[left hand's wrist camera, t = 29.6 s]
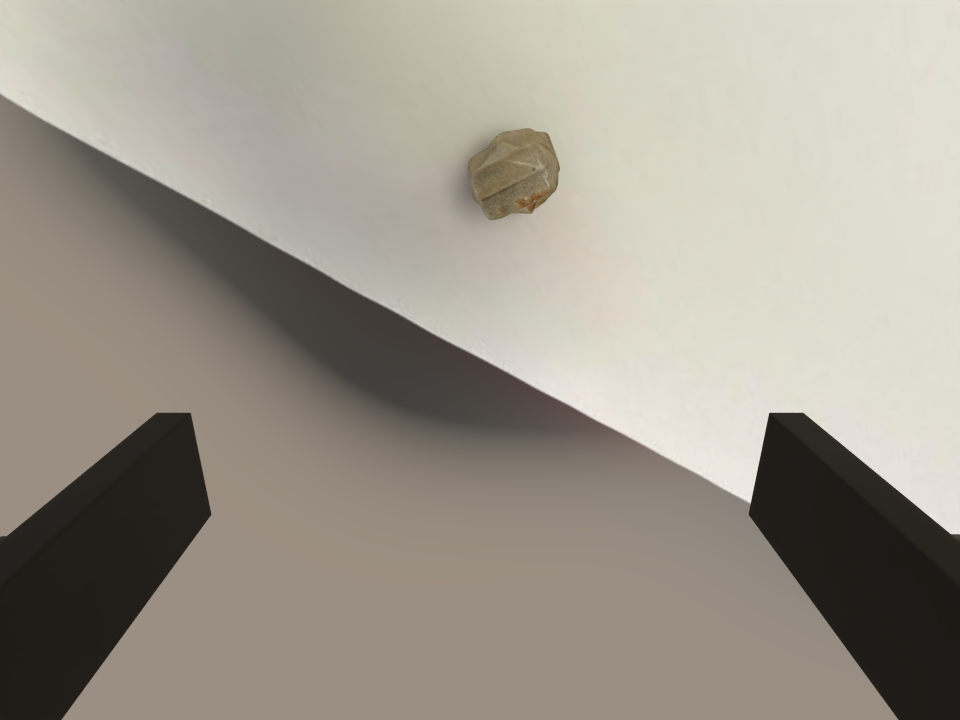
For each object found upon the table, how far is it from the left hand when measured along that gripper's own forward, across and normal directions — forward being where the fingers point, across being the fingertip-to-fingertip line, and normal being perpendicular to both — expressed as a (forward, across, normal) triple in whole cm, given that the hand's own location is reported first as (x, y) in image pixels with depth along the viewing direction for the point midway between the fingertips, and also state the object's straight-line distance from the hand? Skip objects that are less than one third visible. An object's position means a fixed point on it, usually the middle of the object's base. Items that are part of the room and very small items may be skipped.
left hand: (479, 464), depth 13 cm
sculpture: (+41, -3, -5) cm, 41 cm away
